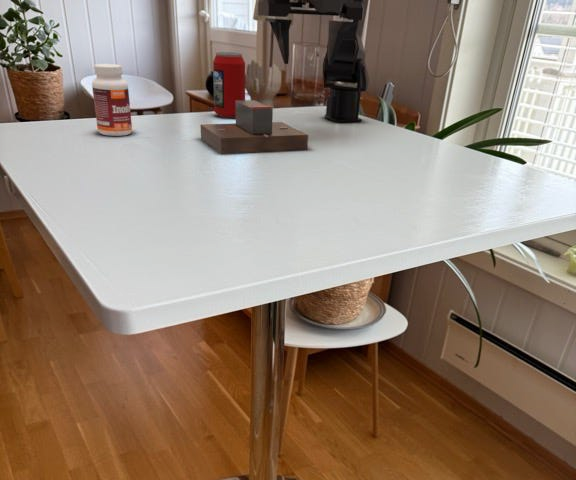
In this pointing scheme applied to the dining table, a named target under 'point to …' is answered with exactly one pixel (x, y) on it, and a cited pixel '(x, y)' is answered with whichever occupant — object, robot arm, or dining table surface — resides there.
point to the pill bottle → (111, 100)
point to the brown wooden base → (253, 138)
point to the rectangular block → (254, 116)
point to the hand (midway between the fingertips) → (308, 64)
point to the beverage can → (228, 82)
